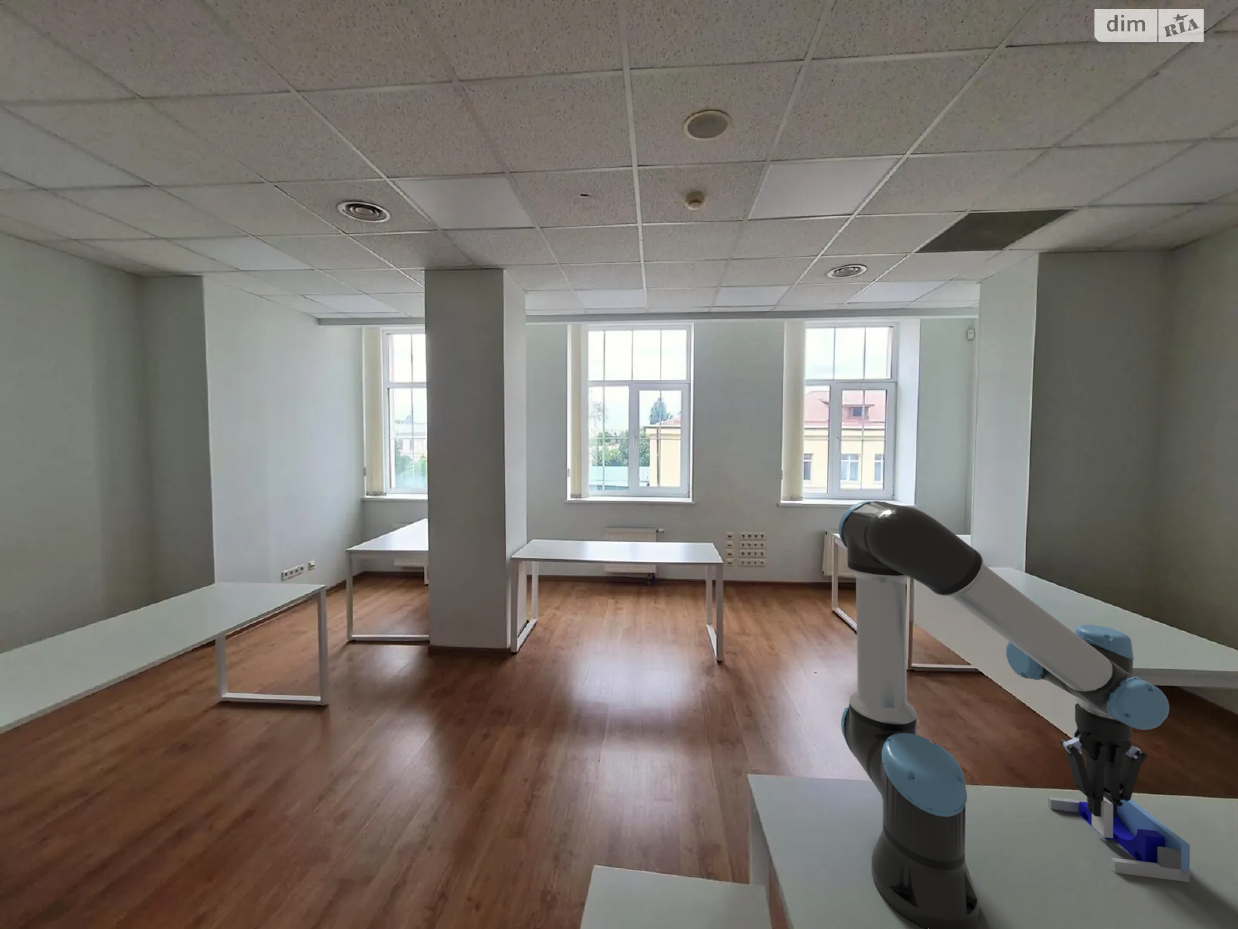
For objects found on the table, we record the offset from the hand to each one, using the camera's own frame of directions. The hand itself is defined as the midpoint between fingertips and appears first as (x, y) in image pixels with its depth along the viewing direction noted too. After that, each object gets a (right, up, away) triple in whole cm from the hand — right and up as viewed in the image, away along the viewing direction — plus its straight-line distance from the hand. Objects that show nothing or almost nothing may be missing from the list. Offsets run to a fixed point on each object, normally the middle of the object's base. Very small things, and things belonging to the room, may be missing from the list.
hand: (1102, 832), depth 88 cm
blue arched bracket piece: (+3, -2, 0) cm, 4 cm away
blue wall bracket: (+2, -2, 0) cm, 2 cm away
